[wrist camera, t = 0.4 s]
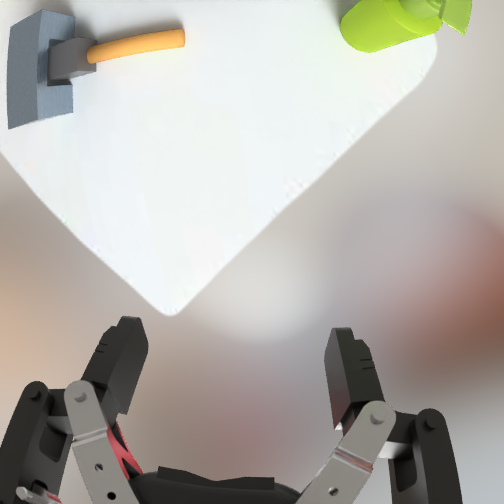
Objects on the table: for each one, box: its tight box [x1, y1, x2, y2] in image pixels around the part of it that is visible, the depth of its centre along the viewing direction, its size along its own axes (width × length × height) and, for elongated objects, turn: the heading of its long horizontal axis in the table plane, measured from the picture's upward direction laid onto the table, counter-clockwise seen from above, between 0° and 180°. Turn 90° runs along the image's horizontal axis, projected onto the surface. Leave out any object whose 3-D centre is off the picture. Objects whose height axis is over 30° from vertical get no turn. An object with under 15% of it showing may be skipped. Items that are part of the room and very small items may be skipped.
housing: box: [7, 9, 75, 130], centre depth 23 cm, size 14×6×8 cm, turn 179°
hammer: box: [47, 29, 185, 81], centre depth 24 cm, size 4×17×4 cm, turn 89°
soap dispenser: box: [340, 0, 472, 53], centre depth 16 cm, size 6×7×20 cm
